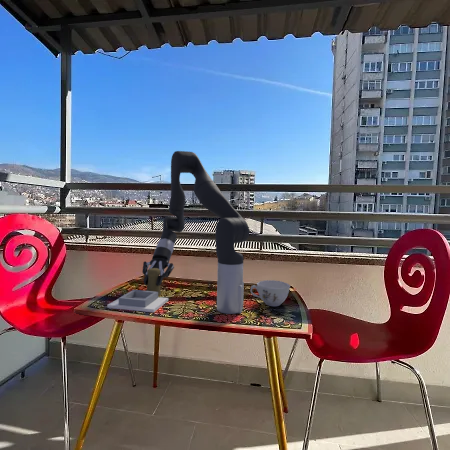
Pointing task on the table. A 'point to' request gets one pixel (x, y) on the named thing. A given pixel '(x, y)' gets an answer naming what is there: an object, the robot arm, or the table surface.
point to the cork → (153, 280)
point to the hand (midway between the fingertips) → (151, 284)
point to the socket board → (139, 301)
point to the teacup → (272, 291)
